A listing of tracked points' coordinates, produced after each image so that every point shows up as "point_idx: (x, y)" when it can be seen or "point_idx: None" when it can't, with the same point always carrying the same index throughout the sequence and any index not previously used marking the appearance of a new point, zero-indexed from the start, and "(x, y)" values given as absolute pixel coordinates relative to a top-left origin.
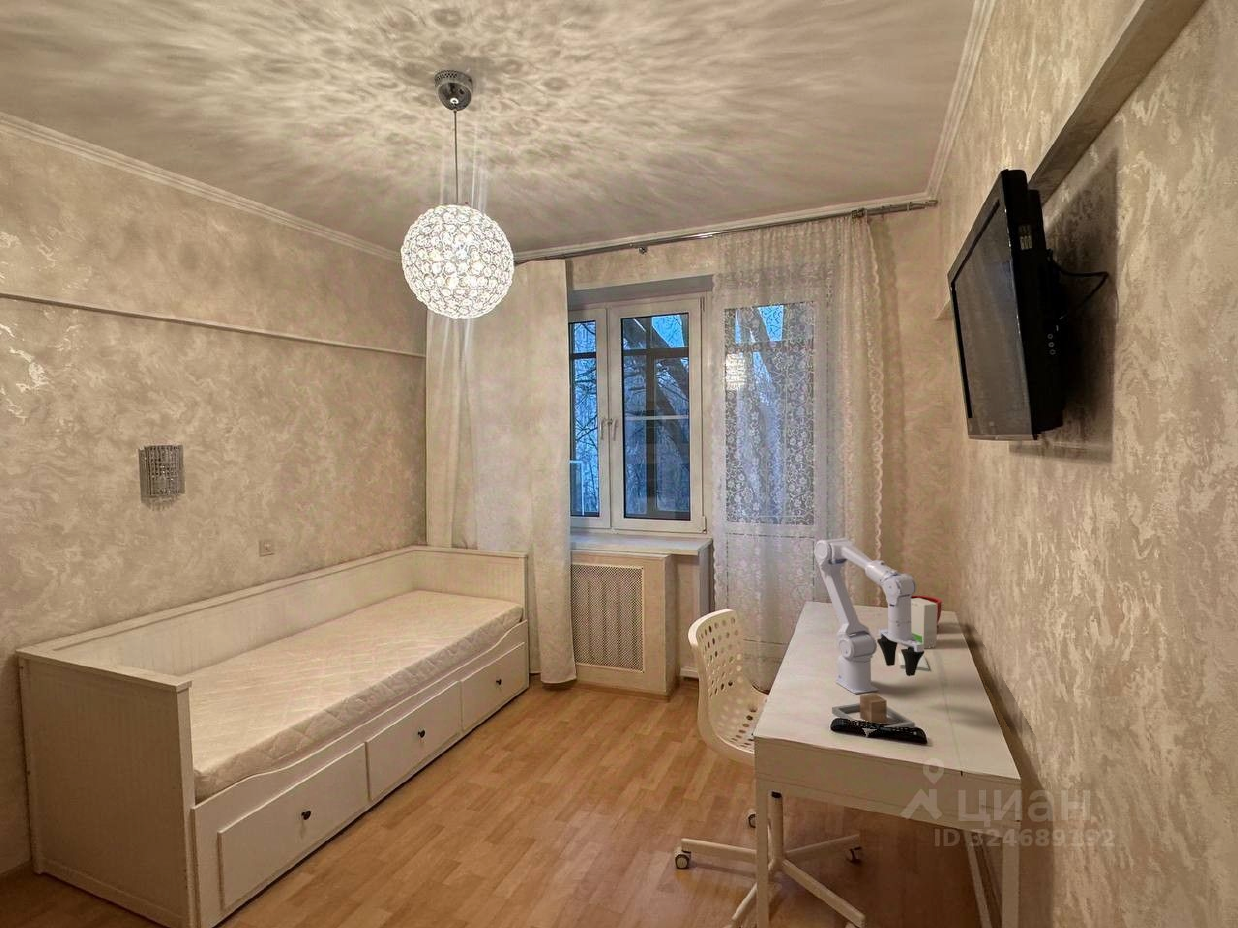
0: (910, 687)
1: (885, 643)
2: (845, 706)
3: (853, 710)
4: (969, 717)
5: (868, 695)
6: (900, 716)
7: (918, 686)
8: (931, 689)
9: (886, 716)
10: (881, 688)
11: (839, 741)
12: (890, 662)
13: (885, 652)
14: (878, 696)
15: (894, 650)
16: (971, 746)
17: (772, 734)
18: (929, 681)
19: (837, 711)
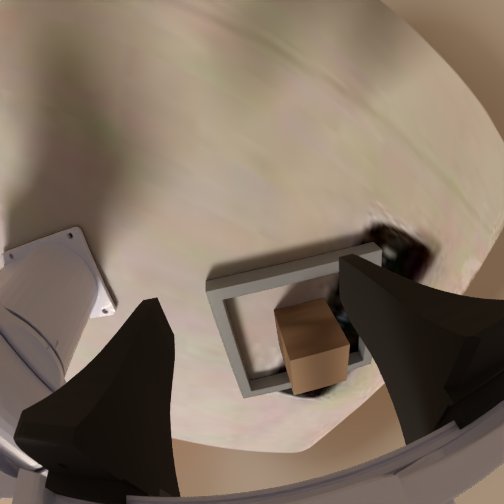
0: (50, 88)
1: (168, 483)
2: (242, 376)
3: (239, 351)
4: (337, 18)
5: (300, 378)
6: (335, 269)
7: (47, 55)
8: (79, 17)
9: (330, 310)
10: (57, 202)
11: (358, 391)
12: (166, 336)
13: (168, 419)
14: (316, 356)
15: (131, 373)
16: (465, 158)
17: (303, 447)
18: (23, 10)
19: (265, 392)
